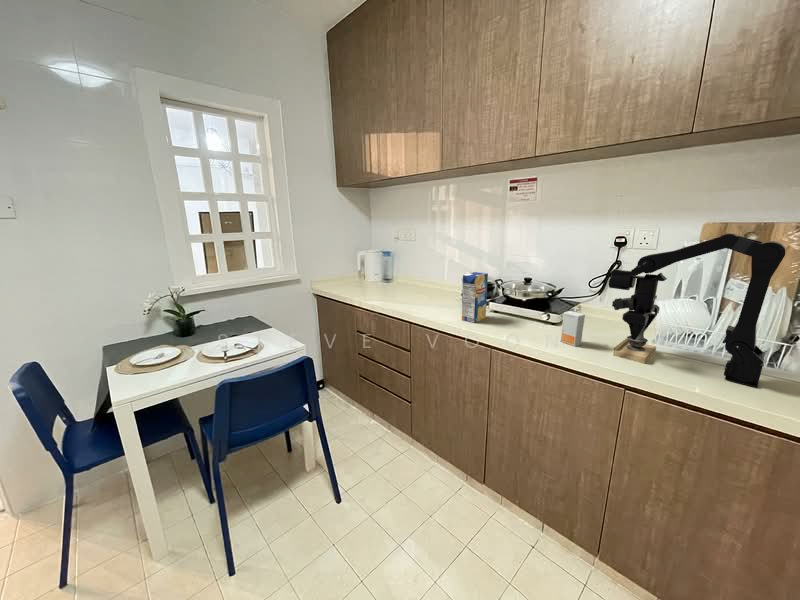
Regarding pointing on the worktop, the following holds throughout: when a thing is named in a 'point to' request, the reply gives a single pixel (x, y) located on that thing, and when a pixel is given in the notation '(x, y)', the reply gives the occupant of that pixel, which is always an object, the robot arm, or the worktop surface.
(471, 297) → the beverage box
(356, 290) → the worktop surface
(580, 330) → the skincare box
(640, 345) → the salt shaker
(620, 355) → the dock
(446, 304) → the worktop surface
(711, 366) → the worktop surface
